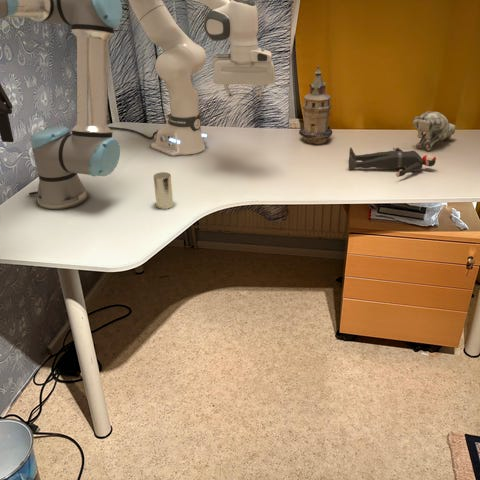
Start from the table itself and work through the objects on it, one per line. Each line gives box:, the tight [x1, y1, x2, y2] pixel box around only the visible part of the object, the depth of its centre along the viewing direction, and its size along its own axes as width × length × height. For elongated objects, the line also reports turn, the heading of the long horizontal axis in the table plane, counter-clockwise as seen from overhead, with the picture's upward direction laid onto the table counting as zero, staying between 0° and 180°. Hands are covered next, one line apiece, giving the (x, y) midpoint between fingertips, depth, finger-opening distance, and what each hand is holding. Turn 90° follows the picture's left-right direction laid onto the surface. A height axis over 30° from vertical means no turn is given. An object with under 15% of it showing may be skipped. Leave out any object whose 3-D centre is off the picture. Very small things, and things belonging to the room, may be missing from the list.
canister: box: [152, 171, 174, 210], centre depth 166 cm, size 5×5×10 cm
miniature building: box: [298, 65, 333, 145], centre depth 213 cm, size 13×14×30 cm
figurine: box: [412, 111, 456, 152], centre depth 210 cm, size 10×19×20 cm
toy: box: [348, 146, 437, 178], centre depth 192 cm, size 26×6×30 cm
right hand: (244, 97), depth 177 cm, fingers open, 8 cm apart
